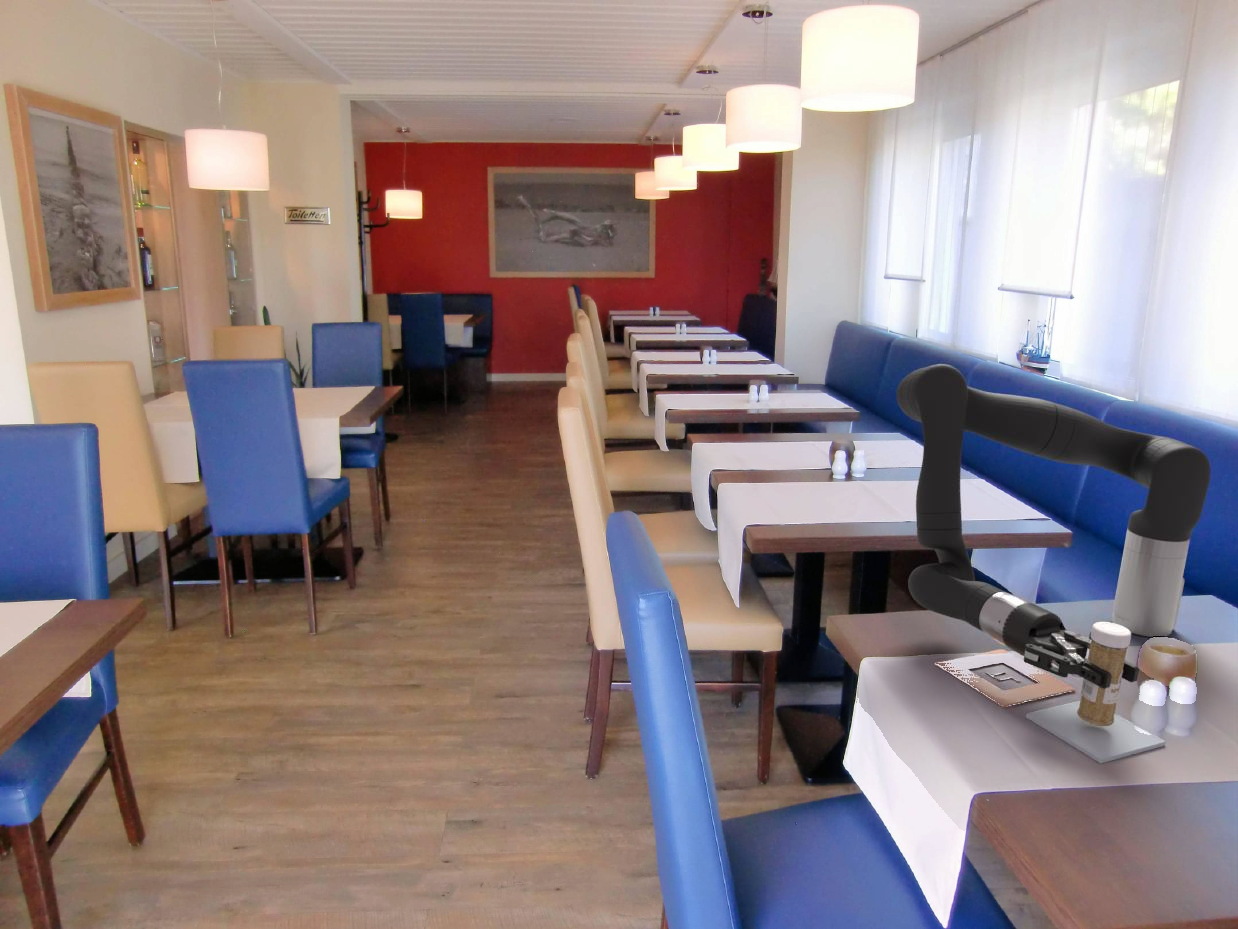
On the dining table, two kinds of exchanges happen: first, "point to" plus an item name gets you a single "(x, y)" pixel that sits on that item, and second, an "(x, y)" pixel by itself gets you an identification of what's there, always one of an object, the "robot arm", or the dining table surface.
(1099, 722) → the sprinkles bottle
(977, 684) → the peach square frame
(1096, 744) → the pad
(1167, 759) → the dining table surface
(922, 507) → the robot arm
